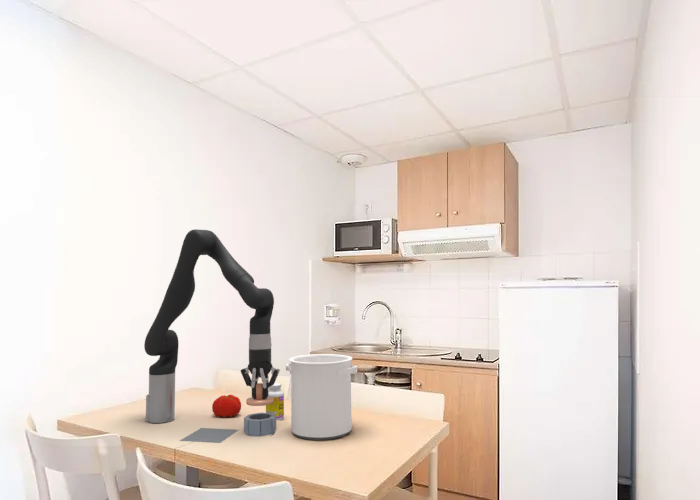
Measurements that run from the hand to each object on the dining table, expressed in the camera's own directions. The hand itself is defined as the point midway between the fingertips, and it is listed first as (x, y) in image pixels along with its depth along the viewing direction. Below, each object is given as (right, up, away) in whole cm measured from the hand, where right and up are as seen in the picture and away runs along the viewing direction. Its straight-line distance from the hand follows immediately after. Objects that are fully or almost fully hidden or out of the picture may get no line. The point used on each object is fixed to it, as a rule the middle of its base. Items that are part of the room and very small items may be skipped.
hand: (260, 398), depth 162 cm
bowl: (0, -11, -1) cm, 11 cm away
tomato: (-17, -14, +22) cm, 31 cm away
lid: (0, -1, 0) cm, 1 cm away
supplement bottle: (+2, -13, +16) cm, 21 cm away
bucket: (+21, -11, 0) cm, 24 cm away
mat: (-16, -11, -4) cm, 20 cm away
